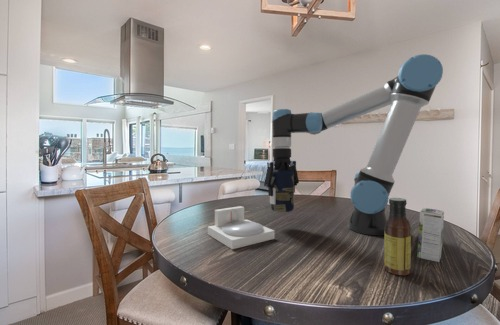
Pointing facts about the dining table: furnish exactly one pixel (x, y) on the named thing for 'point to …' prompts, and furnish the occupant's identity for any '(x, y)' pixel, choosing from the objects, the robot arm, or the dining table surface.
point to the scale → (237, 229)
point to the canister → (283, 191)
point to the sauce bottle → (397, 239)
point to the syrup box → (430, 234)
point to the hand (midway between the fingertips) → (282, 202)
